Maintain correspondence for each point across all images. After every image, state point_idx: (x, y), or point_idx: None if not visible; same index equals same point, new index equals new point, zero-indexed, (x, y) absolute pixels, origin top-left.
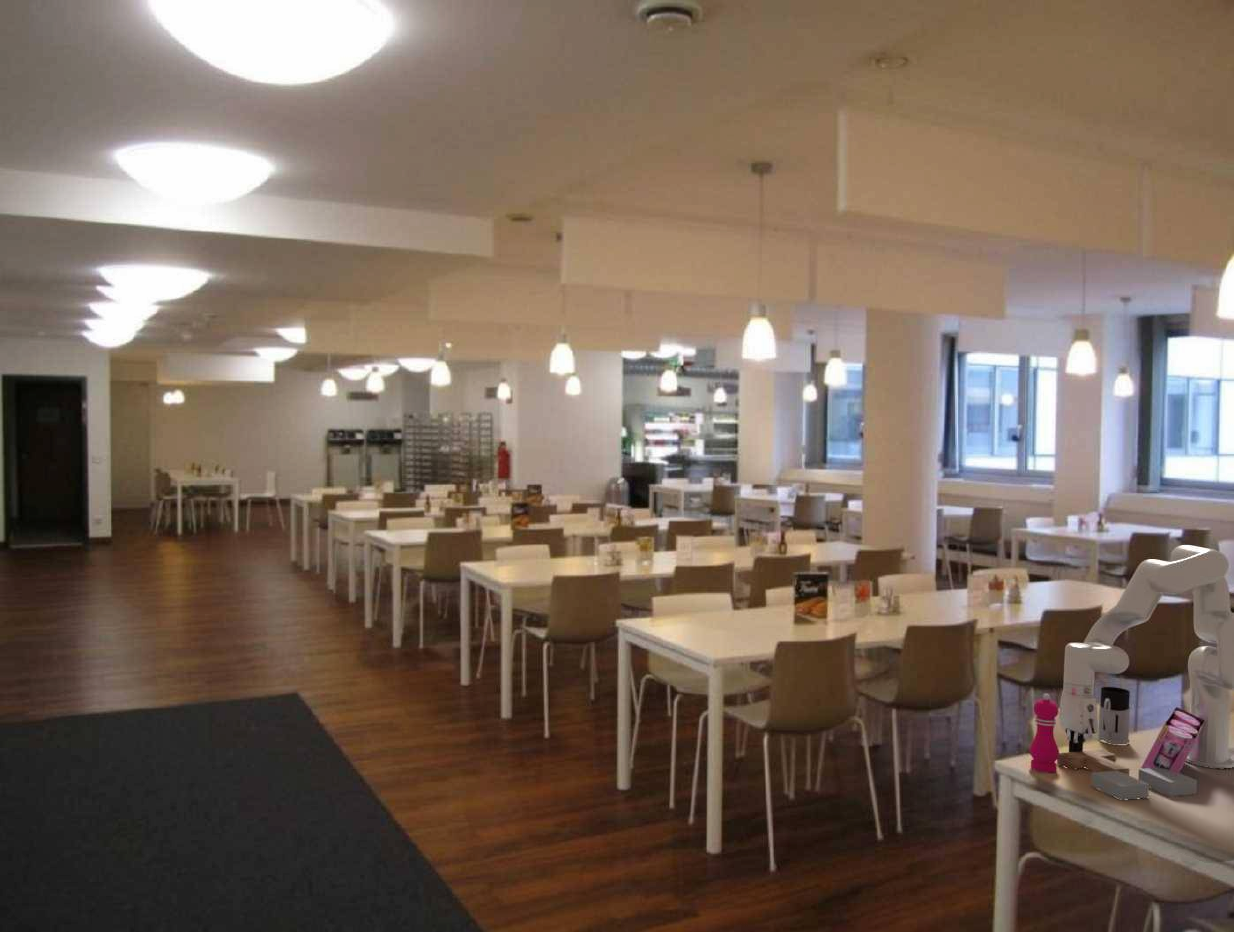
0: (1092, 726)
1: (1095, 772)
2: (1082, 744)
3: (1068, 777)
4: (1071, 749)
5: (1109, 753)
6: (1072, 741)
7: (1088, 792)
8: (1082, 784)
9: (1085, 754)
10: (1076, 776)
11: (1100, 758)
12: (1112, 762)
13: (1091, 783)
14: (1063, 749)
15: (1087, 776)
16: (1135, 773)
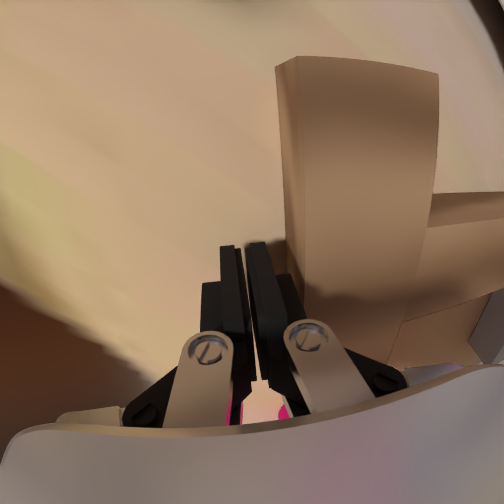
0: (494, 454)
1: (493, 360)
2: (283, 304)
3: (403, 370)
4: (255, 340)
5: (406, 94)
6: (251, 379)
7: (473, 356)
8: (449, 354)
9: (366, 302)
10: (411, 349)
11: (450, 256)
12: (500, 233)
13: (473, 347)
14: (30, 209)
15: (429, 318)
16: (481, 81)
